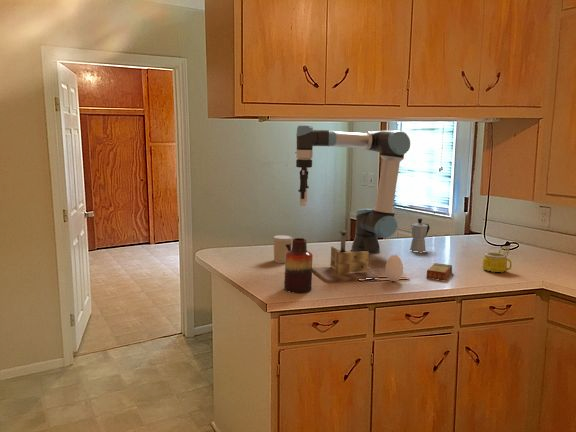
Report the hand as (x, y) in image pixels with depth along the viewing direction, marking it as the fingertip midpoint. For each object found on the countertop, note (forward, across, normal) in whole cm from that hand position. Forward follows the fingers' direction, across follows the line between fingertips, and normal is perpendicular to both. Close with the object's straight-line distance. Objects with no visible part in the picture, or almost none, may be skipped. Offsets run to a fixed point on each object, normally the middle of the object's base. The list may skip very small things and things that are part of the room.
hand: (303, 203), depth 242 cm
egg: (+29, +26, +41) cm, 56 cm away
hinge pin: (+19, +21, +19) cm, 34 cm away
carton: (+30, +12, +63) cm, 70 cm away
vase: (+28, +44, +1) cm, 52 cm away
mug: (+30, -2, +92) cm, 97 cm away
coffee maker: (+30, -39, +62) cm, 79 cm away
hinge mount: (+29, +19, +20) cm, 40 cm away
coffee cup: (+29, 0, -10) cm, 30 cm away
